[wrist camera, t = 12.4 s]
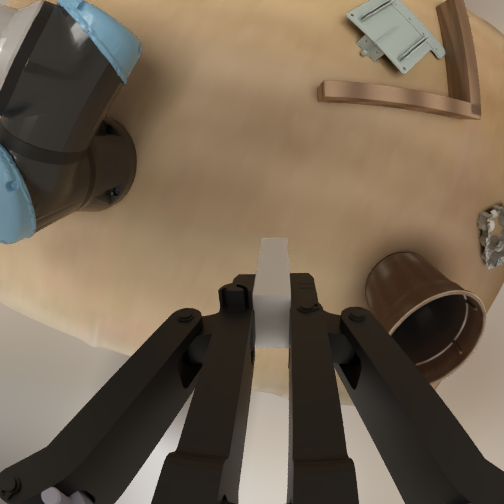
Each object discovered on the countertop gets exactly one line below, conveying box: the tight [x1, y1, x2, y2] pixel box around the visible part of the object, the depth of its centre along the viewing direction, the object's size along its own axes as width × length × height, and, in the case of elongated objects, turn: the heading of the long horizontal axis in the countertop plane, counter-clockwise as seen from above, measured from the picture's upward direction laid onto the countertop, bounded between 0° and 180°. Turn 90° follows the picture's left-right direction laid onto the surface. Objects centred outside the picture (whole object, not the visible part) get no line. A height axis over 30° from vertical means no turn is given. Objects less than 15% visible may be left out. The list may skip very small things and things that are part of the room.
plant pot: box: [366, 252, 486, 385], centre depth 37 cm, size 16×16×16 cm
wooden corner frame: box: [318, 0, 481, 120], centre depth 27 cm, size 23×20×6 cm
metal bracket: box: [346, 0, 446, 74], centre depth 29 cm, size 14×6×15 cm
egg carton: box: [477, 205, 504, 270], centre depth 37 cm, size 11×8×4 cm
